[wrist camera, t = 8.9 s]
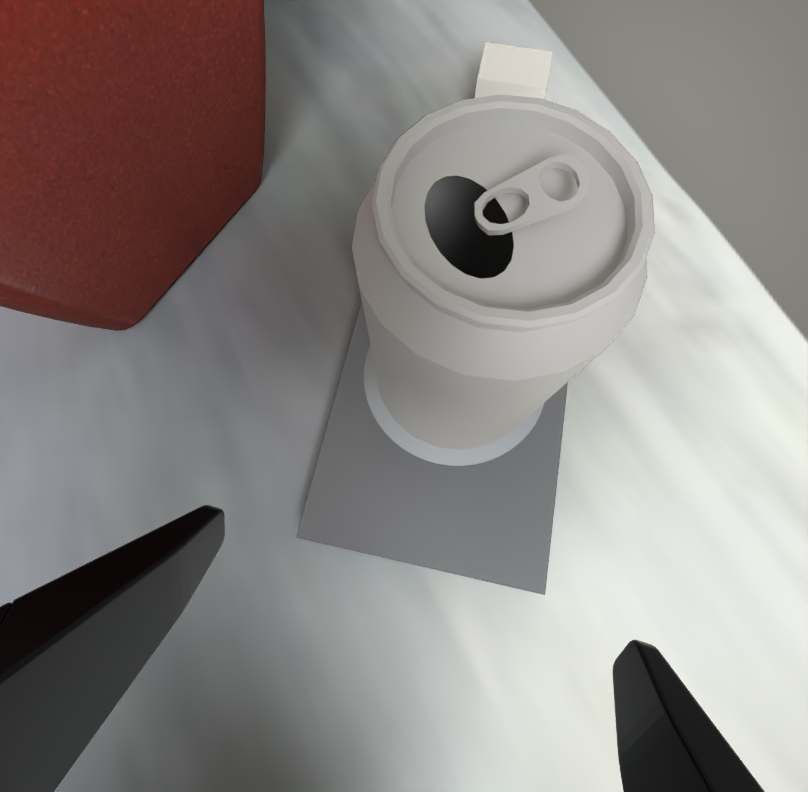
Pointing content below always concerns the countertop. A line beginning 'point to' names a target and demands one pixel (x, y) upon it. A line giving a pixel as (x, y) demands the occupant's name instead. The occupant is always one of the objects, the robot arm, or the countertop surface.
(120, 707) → the countertop surface
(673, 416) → the countertop surface
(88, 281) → the plant pot
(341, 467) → the pad
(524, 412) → the can
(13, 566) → the countertop surface
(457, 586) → the countertop surface
